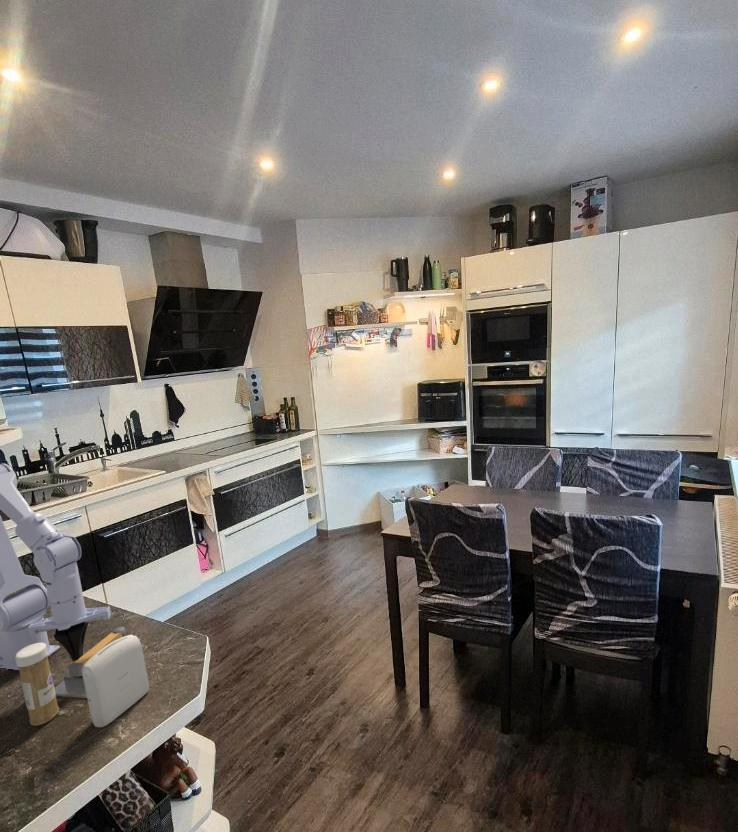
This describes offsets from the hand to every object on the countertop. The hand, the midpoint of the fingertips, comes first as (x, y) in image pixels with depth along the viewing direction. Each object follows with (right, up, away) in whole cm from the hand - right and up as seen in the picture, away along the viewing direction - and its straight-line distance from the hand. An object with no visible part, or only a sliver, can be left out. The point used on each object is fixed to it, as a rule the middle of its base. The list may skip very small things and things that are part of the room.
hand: (78, 657), depth 96 cm
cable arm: (+4, 0, +1) cm, 5 cm away
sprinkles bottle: (+2, -5, -12) cm, 13 cm away
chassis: (+4, -3, 0) cm, 5 cm away
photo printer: (+15, -3, -11) cm, 19 cm away
